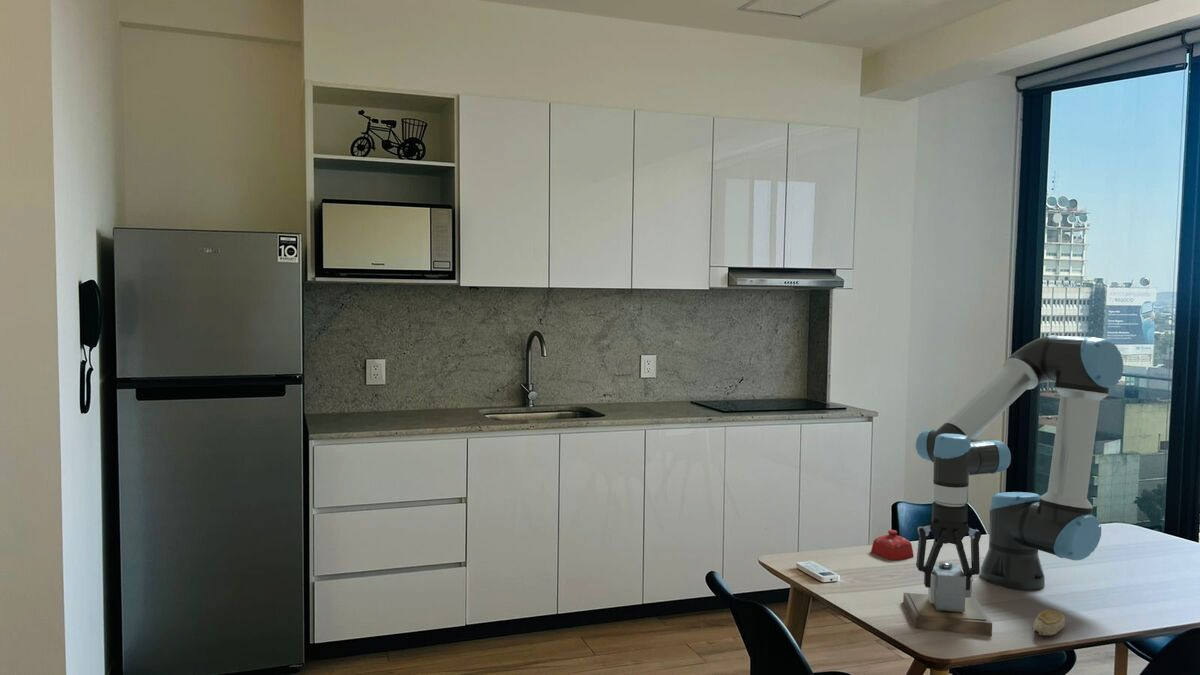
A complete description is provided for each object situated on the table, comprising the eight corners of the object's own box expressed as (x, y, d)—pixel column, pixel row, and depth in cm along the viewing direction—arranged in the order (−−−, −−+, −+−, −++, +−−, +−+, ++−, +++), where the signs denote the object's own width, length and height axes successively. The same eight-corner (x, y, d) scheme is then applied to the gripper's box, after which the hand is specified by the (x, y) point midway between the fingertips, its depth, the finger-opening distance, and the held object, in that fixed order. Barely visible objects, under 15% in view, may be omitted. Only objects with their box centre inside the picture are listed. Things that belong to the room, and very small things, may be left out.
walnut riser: (973, 610, 208) (974, 596, 208) (991, 636, 192) (992, 621, 192) (903, 604, 211) (903, 591, 211) (915, 630, 195) (915, 616, 195)
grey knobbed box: (964, 612, 196) (966, 573, 196) (936, 610, 197) (938, 571, 197) (955, 598, 205) (957, 561, 205) (928, 596, 206) (930, 559, 206)
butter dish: (892, 568, 239) (893, 537, 239) (861, 556, 250) (862, 527, 249) (922, 563, 245) (923, 532, 244) (890, 551, 255) (892, 522, 254)
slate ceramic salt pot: (969, 599, 216) (970, 572, 215) (974, 607, 210) (975, 579, 210) (945, 597, 217) (946, 571, 216) (950, 605, 211) (951, 578, 211)
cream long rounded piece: (1053, 629, 188) (1048, 647, 189) (1073, 610, 198) (1068, 628, 199) (1028, 618, 191) (1023, 636, 192) (1048, 600, 202) (1043, 617, 202)
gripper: (989, 500, 202) (986, 599, 204) (903, 496, 205) (900, 593, 207) (998, 508, 195) (994, 611, 196) (909, 504, 198) (905, 605, 199)
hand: (946, 602), depth 201 cm, fingers closed on grey knobbed box, 6 cm apart
